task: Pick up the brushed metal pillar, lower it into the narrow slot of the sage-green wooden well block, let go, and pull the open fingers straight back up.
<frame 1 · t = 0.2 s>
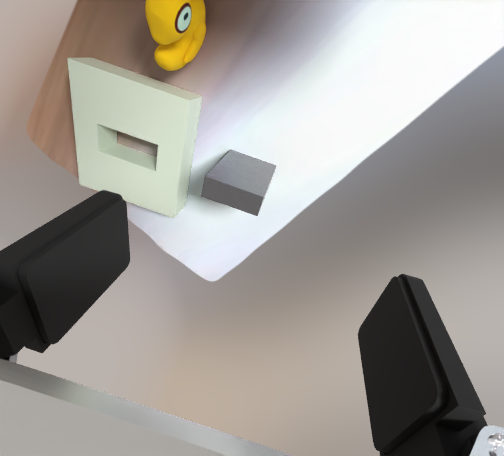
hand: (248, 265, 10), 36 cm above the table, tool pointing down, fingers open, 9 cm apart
well: (144, 140, 47), on the table
duckling: (192, 26, 37), on the table
brushed metal pillar: (250, 165, 46), on the table
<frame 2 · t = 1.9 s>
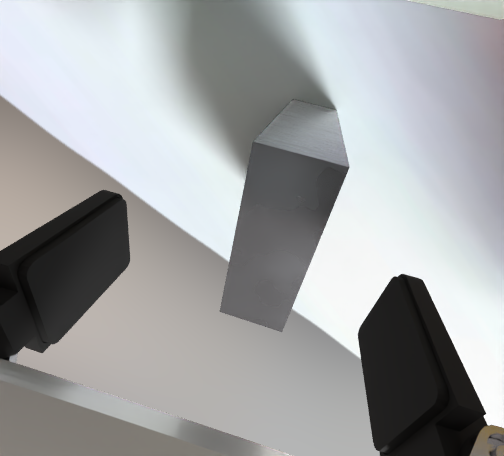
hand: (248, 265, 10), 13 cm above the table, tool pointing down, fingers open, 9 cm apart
brushed metal pillar: (297, 161, 21), on the table
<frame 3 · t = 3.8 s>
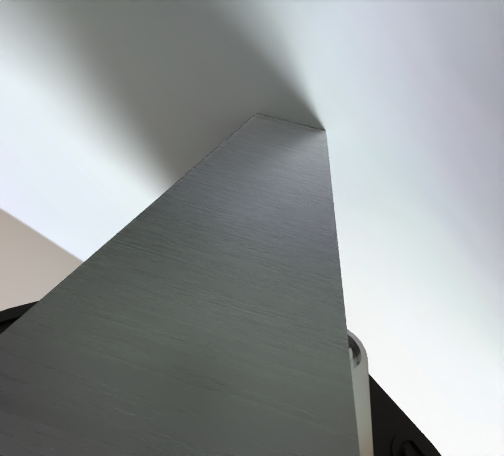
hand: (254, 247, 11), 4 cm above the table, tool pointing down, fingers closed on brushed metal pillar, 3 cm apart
brushed metal pillar: (269, 204, 14), on the table, touching gripper
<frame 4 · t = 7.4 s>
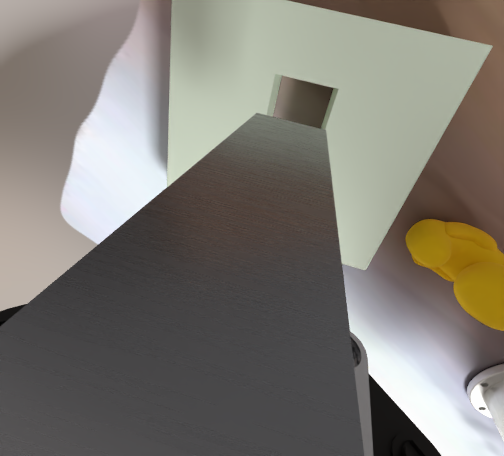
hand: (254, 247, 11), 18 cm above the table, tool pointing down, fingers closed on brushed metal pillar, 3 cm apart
well: (292, 136, 26), on the table
duckling: (447, 238, 28), on the table
brushed metal pillar: (269, 203, 14), point 15 cm above the table, touching gripper
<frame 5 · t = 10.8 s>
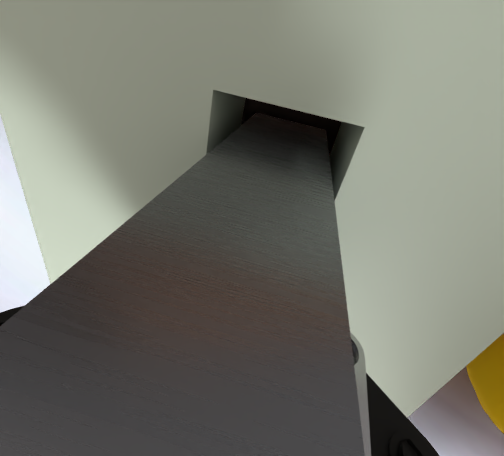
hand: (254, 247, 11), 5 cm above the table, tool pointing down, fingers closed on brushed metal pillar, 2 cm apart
well: (271, 192, 15), on the table
brushed metal pillar: (269, 203, 14), point 1 cm above the table, touching gripper
when the fingers open (5 cm above the table, at t = 10.9 s): brushed metal pillar drops 1 cm, resting in well.
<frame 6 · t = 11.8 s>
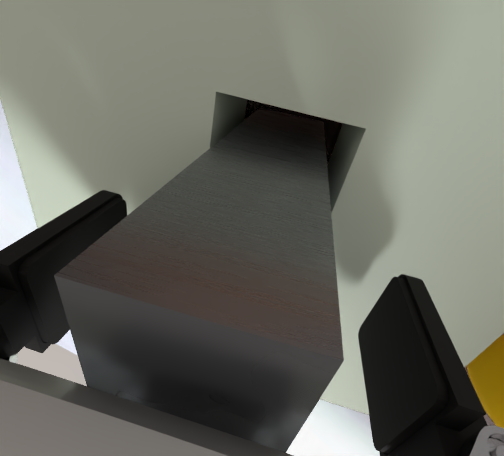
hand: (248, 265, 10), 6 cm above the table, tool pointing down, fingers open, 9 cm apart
well: (273, 192, 15), on the table
brushed metal pillar: (272, 191, 15), resting in well
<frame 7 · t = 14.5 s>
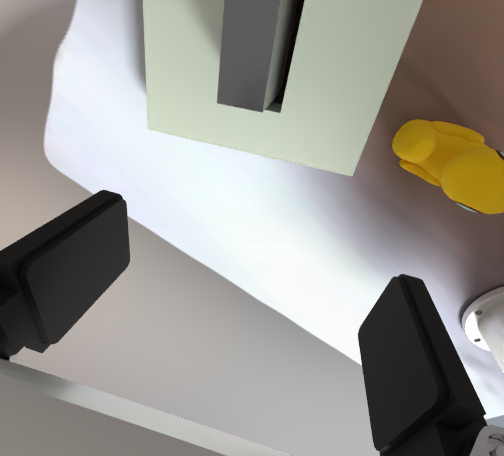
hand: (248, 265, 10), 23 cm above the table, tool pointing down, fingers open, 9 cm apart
well: (273, 41, 25), on the table
duckling: (435, 148, 28), on the table
brushed metal pillar: (273, 40, 25), resting in well
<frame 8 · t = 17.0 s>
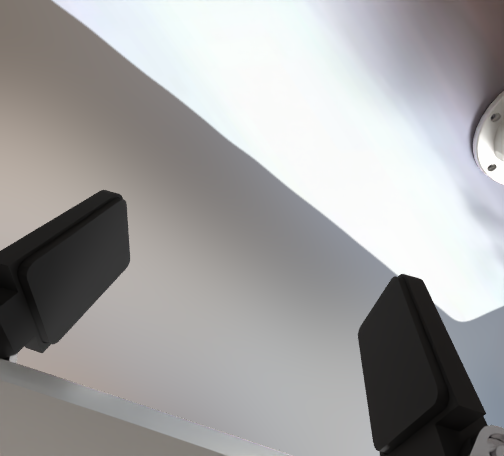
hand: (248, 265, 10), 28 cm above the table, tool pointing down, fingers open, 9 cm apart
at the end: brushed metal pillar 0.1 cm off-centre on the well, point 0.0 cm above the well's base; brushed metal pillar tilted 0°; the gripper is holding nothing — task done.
